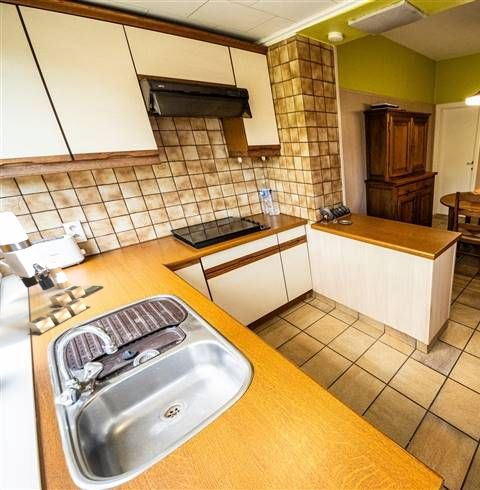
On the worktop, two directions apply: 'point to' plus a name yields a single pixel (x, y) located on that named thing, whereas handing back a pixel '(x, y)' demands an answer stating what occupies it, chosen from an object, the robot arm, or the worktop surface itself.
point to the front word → (64, 313)
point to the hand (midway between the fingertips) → (40, 287)
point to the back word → (72, 295)
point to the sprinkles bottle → (58, 275)
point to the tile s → (41, 324)
